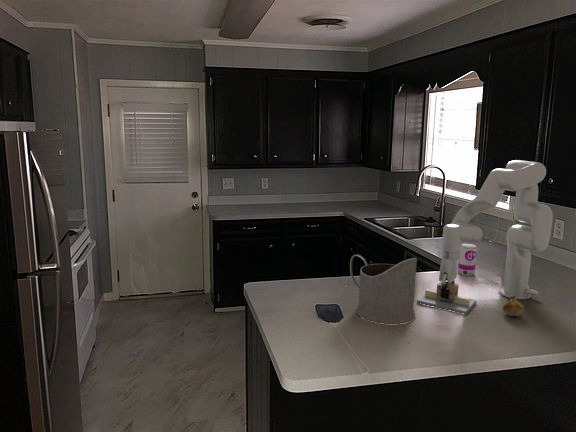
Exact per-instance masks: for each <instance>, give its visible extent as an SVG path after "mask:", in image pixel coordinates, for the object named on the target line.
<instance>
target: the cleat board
mask: <svg viewBox="0 0 576 432" xmlns="http://www.w3.org/2000/svg"><path fill="white" fill-rule="evenodd" d="M436 293H437V290H433V289H425V291H424V293H423V294H422V295H421V296H420V297H418V299H416V304H417V303H421V304H425V305H429V306H434V307H437V308H436V309H438V308H441V309H440V310H442V309H446V310H451V311H455V312H459V313H464V314H466V313H467V312H468V311H469V310H472V308H474V306H475V305H476V304H477V299H474V298H468V297H465V296H459V295H458V296H456V295H455V296H454V302H450V301H446V300H441V299H437V298H436ZM475 303H476V304H475ZM421 304H420V305H421ZM474 304H475V305H474ZM425 305H424V306H425ZM473 305H474V306H473ZM429 306H428V307H429ZM434 307H433V308H434ZM446 310H445V311H446ZM455 312H454V313H455ZM469 312H470V311H469ZM469 312H468V313H469ZM459 313H458V314H459ZM468 313H467V314H468ZM467 314H466V315H467Z"/></svg>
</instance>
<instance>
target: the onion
mask: <svg viewBox="0 0 576 432" xmlns="http://www.w3.org/2000/svg"><path fill="white" fill-rule="evenodd" d="M524 311H525V306H524V305H523V303H521V302H520V301H518V299H516V296H511V297H510V298H509V300H508V301H507V302H506V303H504V304H503V306H502V312H503V313H504V314H506V315H507V316H509V317H511V316H517V317H519V316H522V315H523V313H524Z"/></svg>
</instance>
